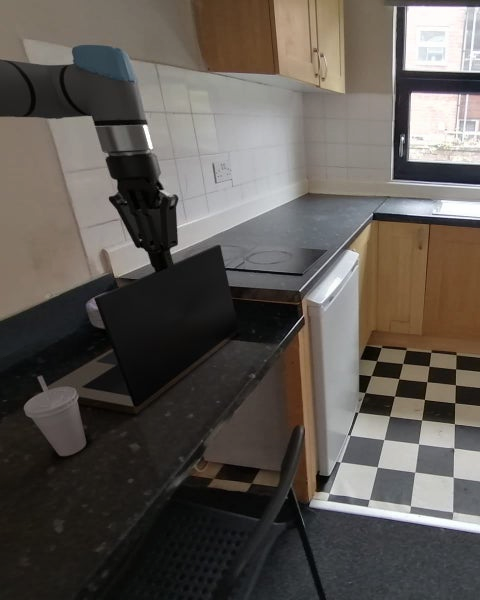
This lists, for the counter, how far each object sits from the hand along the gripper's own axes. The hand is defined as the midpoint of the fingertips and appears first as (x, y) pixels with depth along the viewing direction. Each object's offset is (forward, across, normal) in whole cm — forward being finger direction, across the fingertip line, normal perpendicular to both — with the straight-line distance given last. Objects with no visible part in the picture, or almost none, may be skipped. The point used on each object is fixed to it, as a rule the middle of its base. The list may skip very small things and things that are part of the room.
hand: (167, 283), depth 78 cm
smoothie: (+19, +3, +24) cm, 31 cm away
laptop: (+19, +10, 0) cm, 22 cm away
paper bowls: (+19, +29, -13) cm, 37 cm away
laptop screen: (+7, -1, 0) cm, 7 cm away
